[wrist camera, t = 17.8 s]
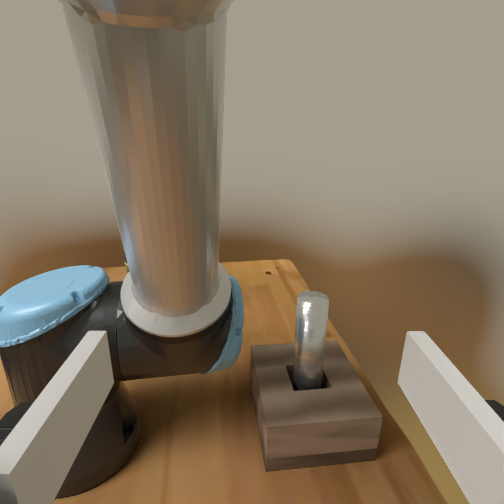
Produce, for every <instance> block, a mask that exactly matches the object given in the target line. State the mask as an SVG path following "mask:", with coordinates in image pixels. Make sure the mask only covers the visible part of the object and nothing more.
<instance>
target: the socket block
mask: <svg viewBox="0 0 504 504" xmlns="http://www.w3.org/2000/svg"><path fill="white" fill-rule="evenodd" d="M294 347H295V343H288V344H272V345H256V346H251V364H250V384H251V389H252V395H253V401H254V407H255V412H256V418H257V424H258V430H259V435H260V441H261V447H262V453H263V458H264V464H265V470H266V472H267V471H277V470H286V469H296V468H305V467H315V466H324V465H334V464H343V463H353V462H362V461H372V460H375V459H376V453H377V447H378V442H379V436H380V430H381V424H382V419H383V416H382V414H381V413H380V411H379V409H378V408H377V406H376V404H375V403H374V401H373V400H372V398H371V396H370V395H369V393H368V391H367V390H366V388H365V387H364V385H363V383H362V382H361V380H360V378H359V377H358V375H357V373H356V372H355V370H354V369H353V367H352V365H351V364H350V362H349V360H348V359H347V357H346V355H345V354H344V352H343V351H342V349H341V347H340V346H339V344H338V342H337V341H325V351H324V362H323V374H322V385H321V389H313V390H300V391H294V390H293V387H292V382H293V364H294Z"/></svg>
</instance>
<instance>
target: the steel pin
mask: <svg viewBox="0 0 504 504" xmlns="http://www.w3.org/2000/svg"><path fill="white" fill-rule="evenodd" d="M328 306H329V298H328V297H327V296H326V295H325V294H323V293H320V292H315V291H306V292H302V293H300V294H298V296H297V311H296V329H295V347H294V364H293V382H292V387H293V390H294V391H300V390H313V389H321V385H322V374H323V362H324V351H325V340H326V328H327V317H328Z"/></svg>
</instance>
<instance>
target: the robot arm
mask: <svg viewBox="0 0 504 504" xmlns="http://www.w3.org/2000/svg"><path fill="white" fill-rule="evenodd" d="M59 1H60V2H61V4H62V5H63V9H64V13H65V17H66V21H67V25H68V29H69V33H70V37H71V41H72V45H73V49H74V53H75V57H76V61H77V65H78V69H79V73H80V77H81V81H82V85H83V89H84V92H85V97H86V100H87V105H88V108H89V112H90V116H91V120H92V124H93V128H94V132H95V136H96V140H97V144H98V148H99V152H100V156H101V160H102V164H103V168H104V172H105V176H106V179H107V184H108V188H109V192H110V195H111V199H112V204H113V208H114V212H115V216H116V220H117V223H118V227H119V231H120V235H121V239H122V243H123V247H124V251H125V255H126V259H127V263H128V267H129V272H128V273H127V275H126V277H125V279H124V281H118V282H109V277H108V275H107V274H106V272H105V270H104V269H102V268H100V267H93V266H90V265H82V266H72V267H66V268H61V269H57V270H53V271H49V272H46V273H43V274H40V275H37V276H35V277H32V278H30V279H27V280H25V281H23V282H21V283H19V284H17V285H15V286H14V287H12V288H10V289H9V290H8V291H6V292H5V293H4V294H3V295H2V296H1V297H0V357H1V360H2V364H3V367H4V371H5V374H6V378H7V382H8V385H9V389H10V392H11V396H12V399H13V403H14V406H15V407H14V408H13V409H12V410H10V411H9V412H8V413H6V414H5V415H4V416H3V418H2V419H1V420H0V504H52V503H53V501H54V499H55V498H60V497H66V496H71V495H75V494H78V493H81V492H83V491H86V490H88V489H90V488H92V487H94V486H96V485H98V484H100V483H102V482H103V481H105V480H106V479H108V478H109V477H111V476H112V475H113V474H114V473H116V472H117V471H118V470H119V469H120V468H121V467H122V466H123V465H124V464H125V463H126V462H127V460H128V459H129V458H130V456H131V455H132V454H133V452H134V450H135V448H136V447H137V444H138V442H139V439H140V434H141V422H140V414H139V410H138V407H137V405H136V403H135V401H134V399H133V398H132V396H131V395H130V393H129V391H128V390H127V388H126V387H125V385H124V383H123V382H122V381H127V380H136V379H146V378H156V377H166V376H176V375H186V374H196V373H200V374H209V373H211V372H213V371H218V370H225V369H228V368H230V367H231V366H232V365H233V364H234V363H235V362H236V360H237V358H238V356H239V353H240V349H241V345H242V338H243V334H242V328H243V323H244V309H243V298H242V292H241V288H240V285H239V282H238V280H237V279H236V278H235V277H233V276H230V275H228V274H227V272H226V270H225V268H224V267H223V266H222V265H221V264H220V263H219V262H218V252H219V224H220V197H221V196H220V195H221V168H222V139H223V110H224V109H223V108H224V81H225V51H226V22H227V11H228V9H229V7H230V5H231V4H232V3H233V2H234V0H59ZM398 384H399V386H400V387H401V389H402V391H403V392H404V394H405V396H406V398H407V399H408V401H409V403H410V404H411V406H412V408H413V409H414V411H415V413H416V414H417V416H418V417H419V419H420V421H421V423H422V424H423V426H424V427H425V429H426V431H427V433H428V434H429V436H430V438H431V439H432V441H433V443H434V444H435V446H436V448H437V450H438V451H439V453H440V455H441V456H442V458H443V460H444V461H445V463H446V465H447V466H448V468H449V470H450V471H451V473H452V475H453V476H454V478H455V480H456V481H457V483H458V485H459V486H460V488H461V490H462V491H463V493H464V495H465V497H466V498H467V500H468V501H469V503H470V504H504V406H502V405H501V404H499V403H498V402H496V401H495V400H484V399H483V398H482V397H481V396H480V394H479V393H478V392H477V391H476V390H475V389H474V388H473V386H471V384H470V383H469V382H468V381H467V380H466V378H465V377H464V376H463V375H462V374H461V373H460V372H459V371H458V369H457V368H456V367H455V366H454V365H453V364H452V363H451V361H450V360H449V359H448V358H447V357H446V356H445V354H444V353H443V352H442V351H441V350H440V349H439V348H438V346H437V345H436V344H435V343H434V342H433V341H432V340H431V338H430V337H429V336H428V335H427V334H426V333H425V332H424V331H408V332H407V335H406V340H405V345H404V350H403V356H402V361H401V367H400V372H399V377H398Z"/></svg>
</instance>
